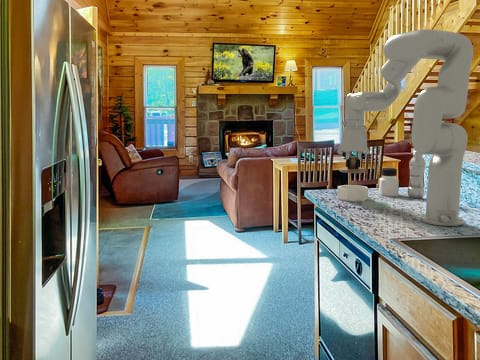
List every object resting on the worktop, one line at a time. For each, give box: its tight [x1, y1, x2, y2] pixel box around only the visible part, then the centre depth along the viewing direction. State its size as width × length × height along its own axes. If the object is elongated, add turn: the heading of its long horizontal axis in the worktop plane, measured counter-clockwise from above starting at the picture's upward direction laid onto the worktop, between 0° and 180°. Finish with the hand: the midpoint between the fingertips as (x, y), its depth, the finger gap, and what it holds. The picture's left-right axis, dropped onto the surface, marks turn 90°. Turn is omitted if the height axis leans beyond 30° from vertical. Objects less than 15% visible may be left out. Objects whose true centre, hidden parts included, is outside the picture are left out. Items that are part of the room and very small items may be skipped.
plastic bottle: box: [406, 149, 427, 199], centre depth 167 cm, size 6×7×20 cm
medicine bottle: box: [378, 167, 400, 197], centre depth 176 cm, size 7×7×12 cm
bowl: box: [337, 184, 369, 202], centre depth 168 cm, size 12×12×5 cm
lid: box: [338, 156, 368, 174], centre depth 167 cm, size 11×11×6 cm
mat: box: [360, 200, 391, 208], centre depth 156 cm, size 10×10×1 cm
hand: (352, 168), depth 167 cm, fingers closed on lid, 3 cm apart
